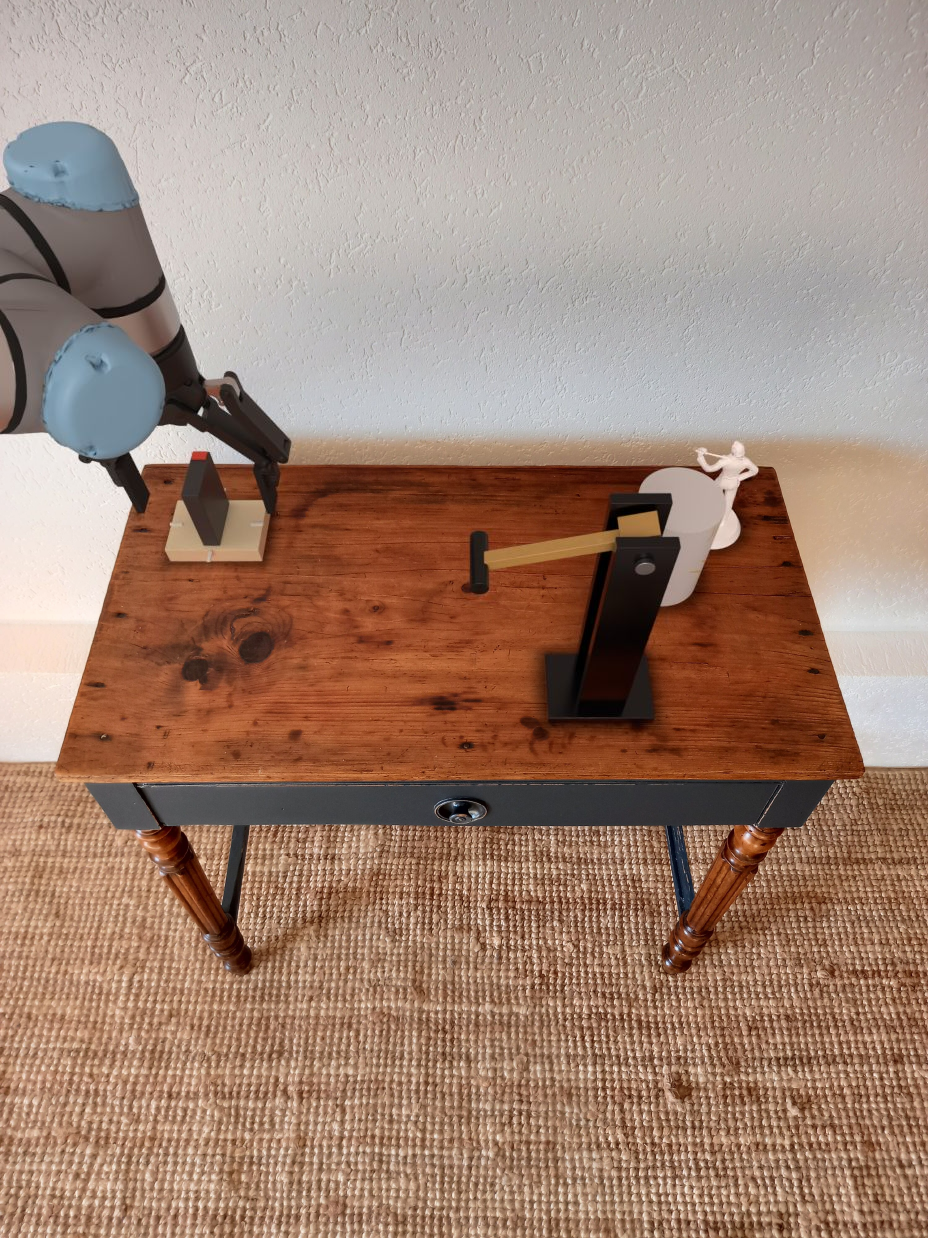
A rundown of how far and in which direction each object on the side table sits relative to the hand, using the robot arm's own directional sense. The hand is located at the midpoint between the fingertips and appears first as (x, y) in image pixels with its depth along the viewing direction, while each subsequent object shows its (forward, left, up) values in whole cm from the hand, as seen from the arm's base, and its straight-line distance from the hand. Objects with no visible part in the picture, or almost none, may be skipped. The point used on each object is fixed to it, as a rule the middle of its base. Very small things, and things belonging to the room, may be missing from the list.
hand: (208, 504), depth 84 cm
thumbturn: (0, 0, -3) cm, 3 cm away
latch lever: (+29, -28, +16) cm, 43 cm away
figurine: (+53, -12, -5) cm, 54 cm away
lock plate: (0, 0, -5) cm, 5 cm away
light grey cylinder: (+45, -17, -5) cm, 48 cm away
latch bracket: (+34, -29, -5) cm, 45 cm away
